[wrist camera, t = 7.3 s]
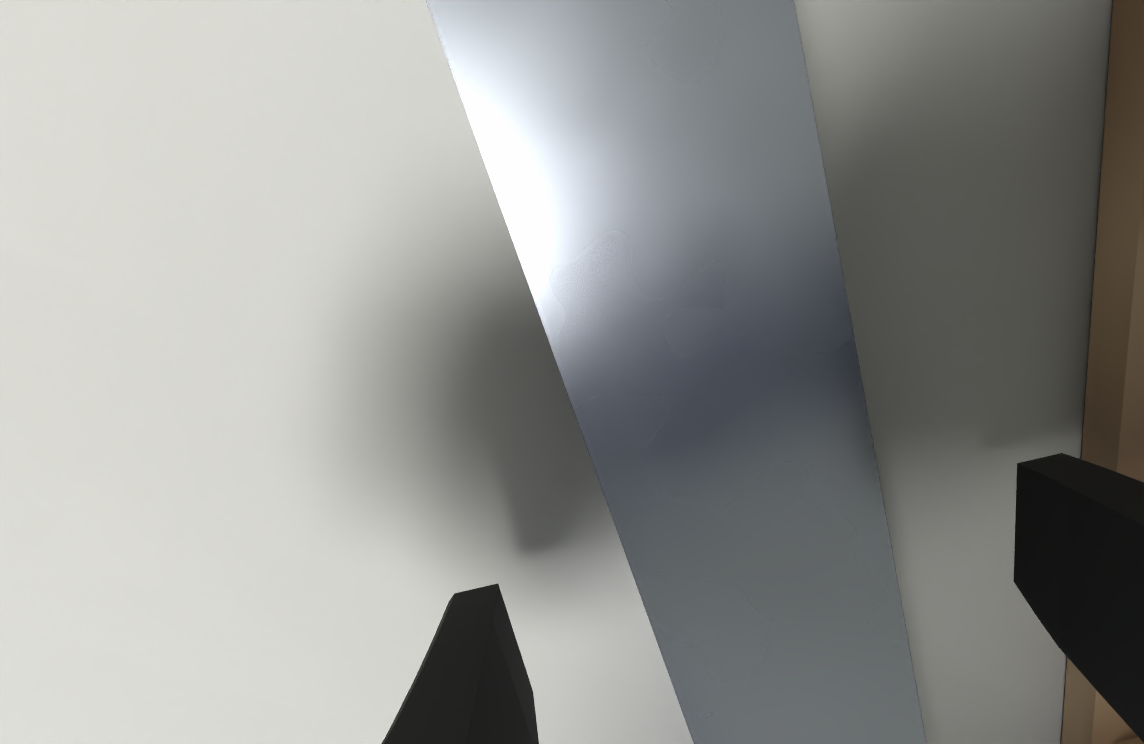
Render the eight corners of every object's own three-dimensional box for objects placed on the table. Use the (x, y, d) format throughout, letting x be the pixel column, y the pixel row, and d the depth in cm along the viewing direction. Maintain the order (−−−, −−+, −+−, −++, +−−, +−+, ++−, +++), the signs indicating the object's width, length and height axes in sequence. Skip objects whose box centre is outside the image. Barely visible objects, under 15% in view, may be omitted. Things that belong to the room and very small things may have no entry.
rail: (883, 798, 17) (965, 961, 14) (739, 842, 17) (790, 1012, 14) (672, -164, 9) (749, -245, 7) (418, -73, 10) (385, -112, 7)
